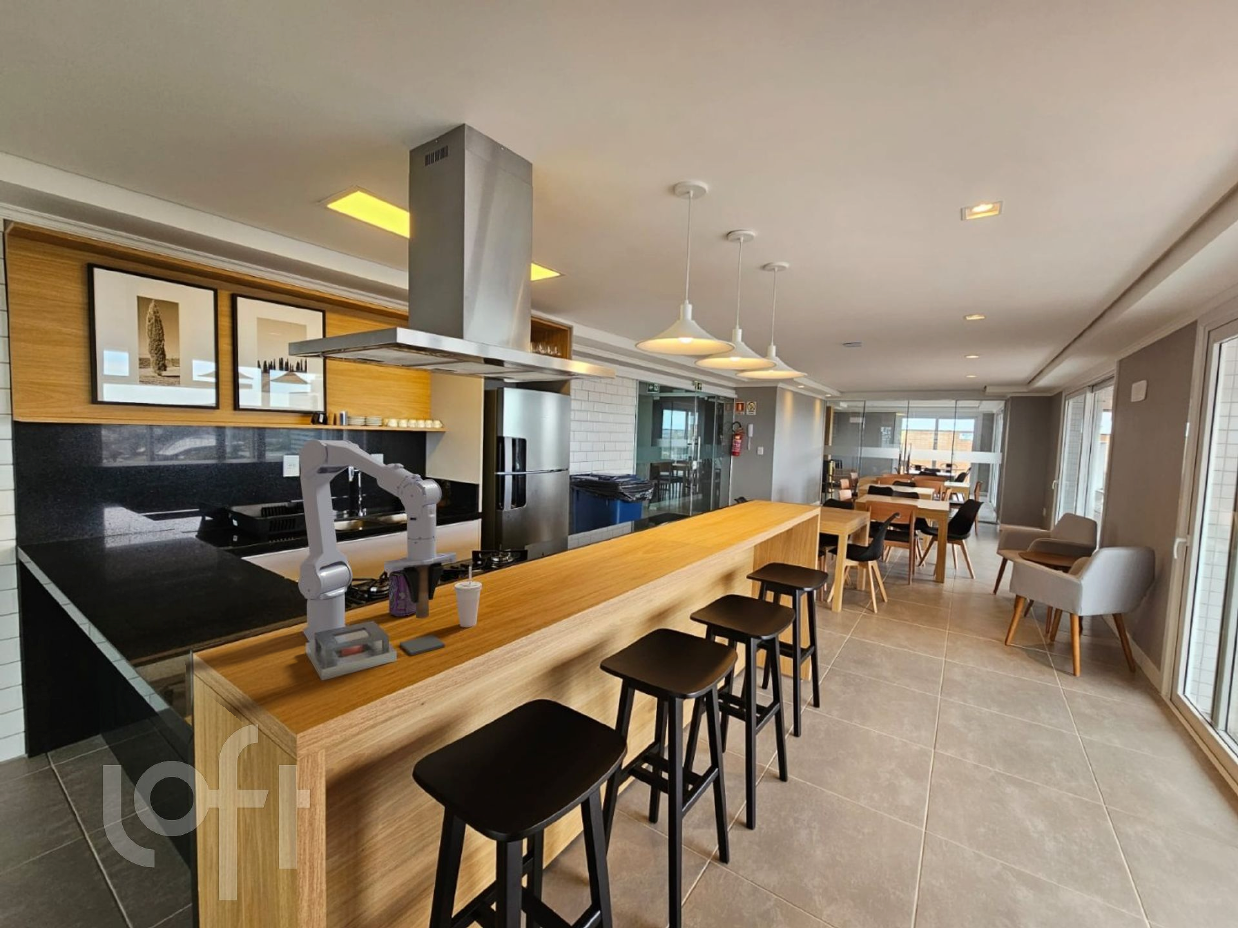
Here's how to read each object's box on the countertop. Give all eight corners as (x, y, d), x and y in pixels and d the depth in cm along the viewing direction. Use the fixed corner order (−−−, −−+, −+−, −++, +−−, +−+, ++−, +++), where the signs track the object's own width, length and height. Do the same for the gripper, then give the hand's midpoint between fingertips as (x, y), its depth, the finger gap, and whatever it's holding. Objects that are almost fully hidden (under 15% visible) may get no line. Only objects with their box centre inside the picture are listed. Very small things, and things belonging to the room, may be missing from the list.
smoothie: (473, 630, 115) (473, 570, 115) (448, 628, 117) (448, 569, 116) (486, 620, 122) (486, 564, 121) (462, 618, 123) (462, 562, 122)
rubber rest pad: (400, 645, 106) (400, 642, 106) (432, 637, 111) (432, 634, 111) (411, 655, 101) (411, 652, 101) (445, 646, 106) (444, 644, 106)
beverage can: (391, 610, 129) (390, 564, 129) (420, 607, 131) (420, 562, 131) (387, 619, 122) (386, 571, 122) (418, 616, 124) (417, 569, 124)
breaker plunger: (340, 657, 99) (340, 644, 99) (359, 652, 102) (359, 640, 102) (344, 663, 97) (344, 650, 97) (364, 658, 99) (364, 645, 99)
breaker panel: (305, 652, 102) (305, 629, 102) (373, 637, 111) (373, 615, 111) (322, 680, 90) (321, 654, 90) (396, 660, 99) (396, 636, 99)
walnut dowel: (414, 615, 106) (413, 564, 106) (426, 613, 108) (426, 563, 107) (417, 619, 104) (417, 567, 104) (430, 616, 106) (429, 565, 105)
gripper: (391, 544, 97) (392, 612, 98) (462, 535, 107) (462, 598, 107) (381, 538, 103) (381, 603, 103) (449, 531, 112) (449, 590, 113)
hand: (422, 600), depth 106 cm, fingers closed on walnut dowel, 3 cm apart
